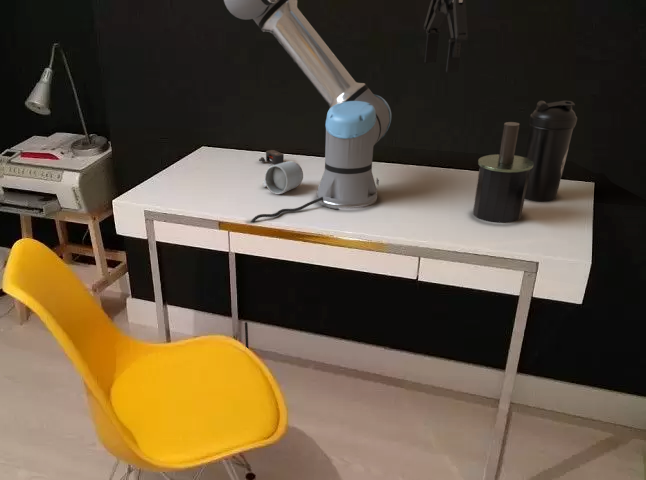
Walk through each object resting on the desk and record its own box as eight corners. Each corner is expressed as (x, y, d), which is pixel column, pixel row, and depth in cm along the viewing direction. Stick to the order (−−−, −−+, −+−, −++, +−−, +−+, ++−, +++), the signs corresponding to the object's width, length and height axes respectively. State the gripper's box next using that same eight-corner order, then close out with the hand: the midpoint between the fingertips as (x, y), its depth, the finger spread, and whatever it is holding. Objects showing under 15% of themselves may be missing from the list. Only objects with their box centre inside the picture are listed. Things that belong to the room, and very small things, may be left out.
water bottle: (563, 203, 170) (584, 107, 159) (519, 202, 172) (537, 106, 161) (555, 189, 179) (574, 97, 167) (513, 188, 181) (529, 97, 169)
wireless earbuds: (271, 159, 212) (271, 149, 211) (284, 165, 207) (284, 154, 205) (258, 162, 211) (258, 151, 209) (271, 168, 205) (270, 157, 203)
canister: (484, 226, 160) (493, 173, 154) (465, 210, 169) (472, 159, 163) (528, 223, 161) (539, 169, 155) (507, 207, 170) (516, 156, 164)
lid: (491, 176, 153) (498, 132, 149) (468, 161, 164) (474, 119, 159) (542, 172, 154) (551, 128, 149) (517, 157, 165) (524, 115, 160)
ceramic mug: (305, 188, 188) (305, 160, 184) (287, 196, 183) (286, 167, 179) (273, 182, 194) (273, 154, 191) (255, 190, 189) (254, 162, 185)
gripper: (492, -32, 146) (478, 75, 157) (446, -37, 167) (436, 57, 178) (458, -30, 145) (445, 77, 156) (415, -35, 167) (407, 59, 177)
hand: (440, 67), depth 167 cm, fingers open, 13 cm apart
